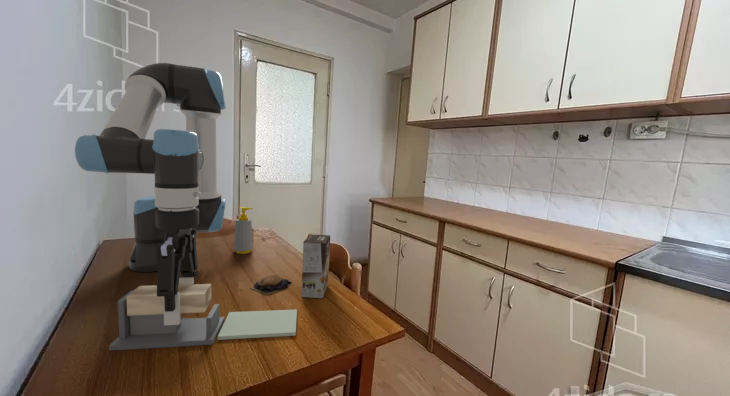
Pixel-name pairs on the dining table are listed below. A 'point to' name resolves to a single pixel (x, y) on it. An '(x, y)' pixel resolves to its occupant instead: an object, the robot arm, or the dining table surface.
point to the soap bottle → (243, 233)
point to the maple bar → (148, 303)
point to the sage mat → (259, 324)
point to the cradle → (164, 330)
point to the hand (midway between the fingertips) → (180, 314)
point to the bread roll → (270, 284)
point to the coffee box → (315, 266)
